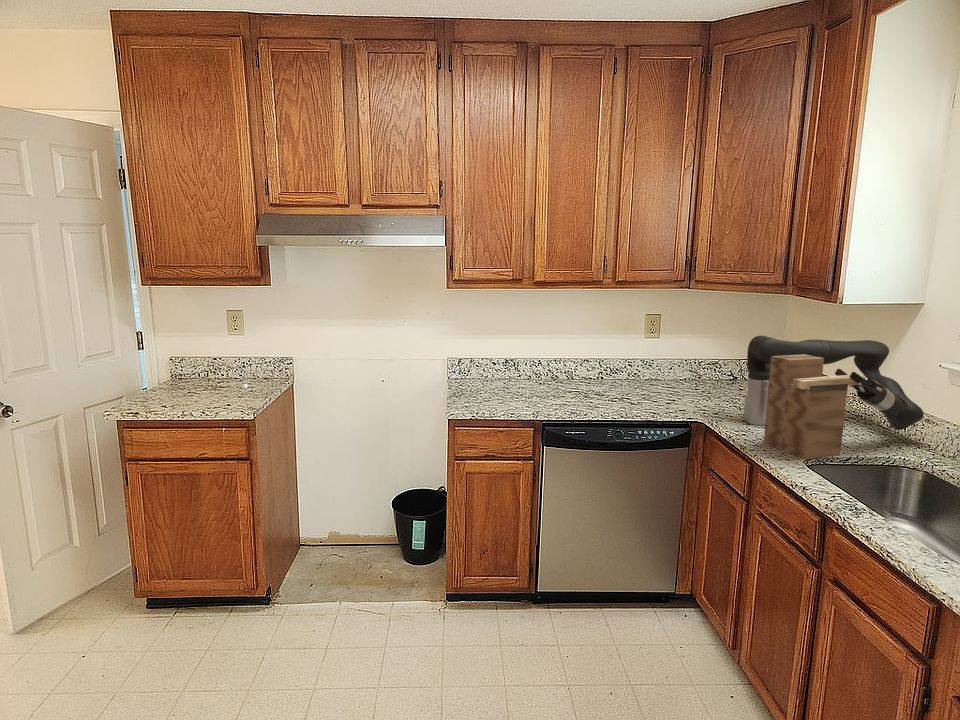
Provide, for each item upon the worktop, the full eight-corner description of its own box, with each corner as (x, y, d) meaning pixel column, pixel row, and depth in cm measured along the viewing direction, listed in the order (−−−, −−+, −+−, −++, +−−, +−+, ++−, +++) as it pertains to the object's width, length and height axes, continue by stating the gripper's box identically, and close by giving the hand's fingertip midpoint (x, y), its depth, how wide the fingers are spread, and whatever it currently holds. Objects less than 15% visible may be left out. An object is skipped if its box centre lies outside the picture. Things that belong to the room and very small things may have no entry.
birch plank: (792, 386, 197) (793, 378, 197) (850, 382, 204) (851, 374, 204) (802, 389, 193) (803, 381, 193) (861, 384, 201) (862, 377, 200)
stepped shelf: (763, 442, 212) (771, 356, 206) (796, 439, 216) (804, 354, 211) (805, 459, 195) (814, 365, 190) (840, 455, 199) (850, 363, 194)
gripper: (862, 381, 213) (831, 358, 207) (901, 390, 199) (869, 366, 193) (851, 400, 213) (820, 378, 207) (890, 410, 199) (858, 387, 193)
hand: (844, 372), depth 200 cm, fingers open, 5 cm apart
